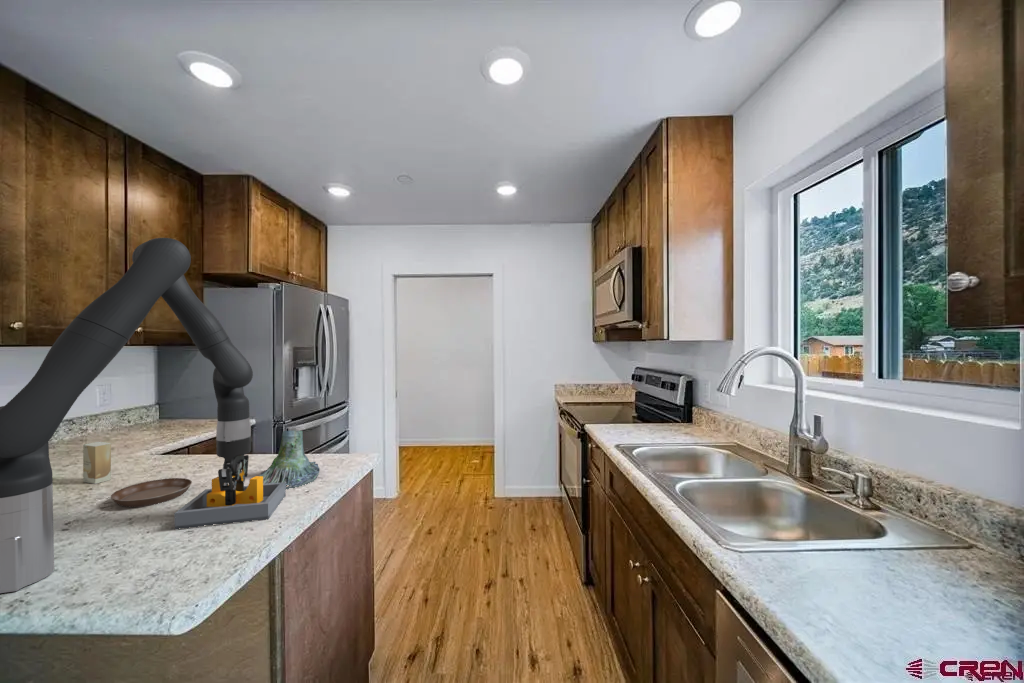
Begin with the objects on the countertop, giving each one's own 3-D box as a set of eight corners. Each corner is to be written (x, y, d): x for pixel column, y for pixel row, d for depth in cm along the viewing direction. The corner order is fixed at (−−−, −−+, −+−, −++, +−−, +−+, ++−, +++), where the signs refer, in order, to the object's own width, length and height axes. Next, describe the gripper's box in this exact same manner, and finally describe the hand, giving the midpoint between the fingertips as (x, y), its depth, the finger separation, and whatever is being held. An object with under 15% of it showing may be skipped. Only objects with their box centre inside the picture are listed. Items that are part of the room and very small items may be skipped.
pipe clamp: (206, 506, 106) (206, 481, 106) (218, 500, 110) (218, 476, 110) (252, 506, 106) (252, 481, 106) (263, 500, 110) (263, 476, 110)
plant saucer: (207, 488, 127) (207, 478, 126) (151, 512, 109) (151, 500, 109) (155, 486, 128) (155, 476, 128) (92, 510, 111) (91, 498, 111)
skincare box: (82, 482, 132) (81, 444, 132) (99, 477, 136) (98, 441, 136) (95, 484, 130) (94, 445, 130) (112, 479, 134) (111, 442, 134)
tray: (268, 519, 103) (268, 503, 103) (174, 529, 98) (174, 513, 98) (285, 495, 119) (285, 482, 119) (205, 503, 113) (205, 489, 113)
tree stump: (242, 494, 121) (245, 433, 125) (271, 487, 140) (273, 434, 144) (308, 487, 124) (308, 427, 128) (328, 481, 143) (328, 429, 147)
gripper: (228, 431, 114) (229, 492, 114) (204, 443, 100) (205, 513, 100) (259, 429, 116) (259, 489, 116) (239, 441, 102) (240, 509, 102)
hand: (234, 500), depth 108 cm, fingers closed on pipe clamp, 5 cm apart
